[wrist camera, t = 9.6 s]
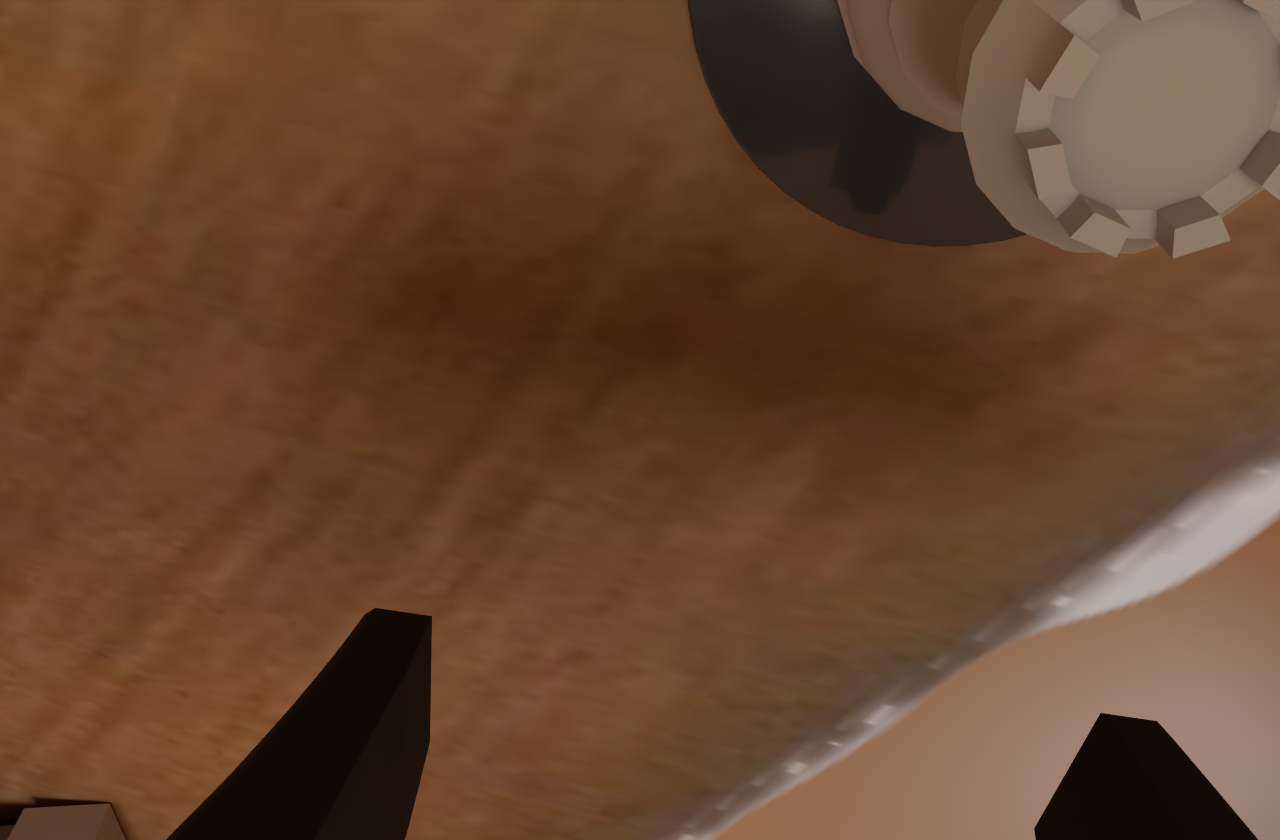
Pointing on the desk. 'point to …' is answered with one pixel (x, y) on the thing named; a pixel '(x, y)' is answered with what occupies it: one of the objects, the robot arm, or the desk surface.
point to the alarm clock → (65, 824)
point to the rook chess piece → (1093, 108)
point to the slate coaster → (836, 126)
